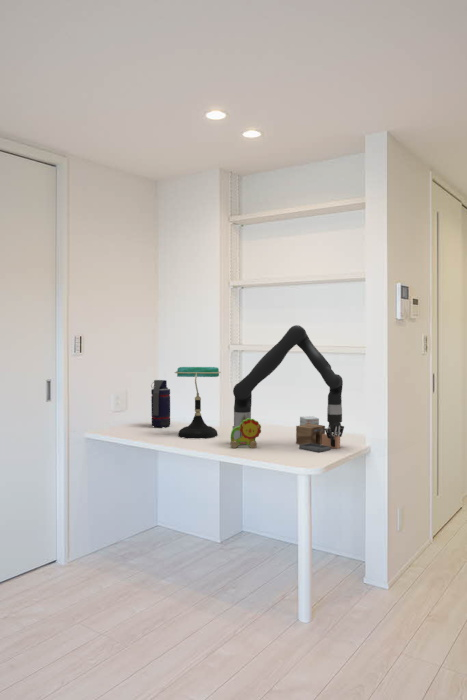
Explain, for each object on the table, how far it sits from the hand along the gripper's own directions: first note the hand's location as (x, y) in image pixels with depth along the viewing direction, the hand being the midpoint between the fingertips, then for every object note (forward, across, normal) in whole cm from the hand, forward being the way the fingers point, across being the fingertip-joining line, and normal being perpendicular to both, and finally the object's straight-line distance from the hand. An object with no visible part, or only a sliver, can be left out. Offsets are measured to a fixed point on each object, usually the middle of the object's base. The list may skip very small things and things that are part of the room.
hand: (334, 445), depth 298 cm
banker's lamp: (+1, +29, -77) cm, 82 cm away
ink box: (+1, -13, -28) cm, 31 cm away
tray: (+1, +11, -4) cm, 12 cm away
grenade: (+1, +27, -118) cm, 121 cm away
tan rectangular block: (+1, 0, -2) cm, 3 cm away
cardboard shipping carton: (+1, 0, -16) cm, 16 cm away
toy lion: (+1, +33, -32) cm, 46 cm away
